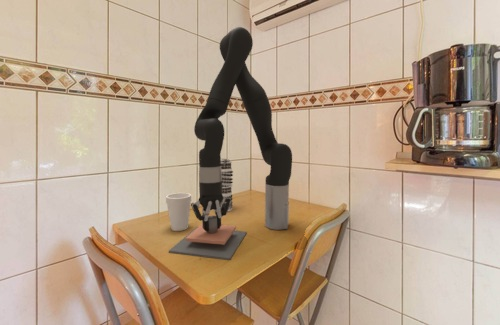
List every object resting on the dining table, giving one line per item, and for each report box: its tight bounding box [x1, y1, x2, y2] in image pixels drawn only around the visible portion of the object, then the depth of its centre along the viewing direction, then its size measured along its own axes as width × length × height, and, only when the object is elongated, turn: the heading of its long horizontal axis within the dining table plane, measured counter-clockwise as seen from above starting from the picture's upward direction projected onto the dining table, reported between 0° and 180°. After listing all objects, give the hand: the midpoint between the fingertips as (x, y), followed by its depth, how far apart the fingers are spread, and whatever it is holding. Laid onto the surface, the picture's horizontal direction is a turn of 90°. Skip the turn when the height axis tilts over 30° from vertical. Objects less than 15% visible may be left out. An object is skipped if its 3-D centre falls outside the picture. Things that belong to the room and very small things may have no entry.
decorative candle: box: [220, 158, 234, 212], centre depth 117 cm, size 9×9×25 cm
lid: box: [185, 215, 237, 245], centre depth 81 cm, size 13×13×6 cm
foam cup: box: [165, 192, 192, 232], centre depth 93 cm, size 10×9×13 cm
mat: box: [168, 226, 247, 261], centre depth 82 cm, size 20×20×1 cm
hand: (212, 229), depth 81 cm, fingers closed on lid, 3 cm apart
